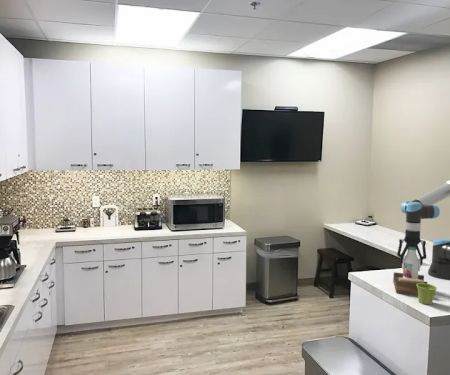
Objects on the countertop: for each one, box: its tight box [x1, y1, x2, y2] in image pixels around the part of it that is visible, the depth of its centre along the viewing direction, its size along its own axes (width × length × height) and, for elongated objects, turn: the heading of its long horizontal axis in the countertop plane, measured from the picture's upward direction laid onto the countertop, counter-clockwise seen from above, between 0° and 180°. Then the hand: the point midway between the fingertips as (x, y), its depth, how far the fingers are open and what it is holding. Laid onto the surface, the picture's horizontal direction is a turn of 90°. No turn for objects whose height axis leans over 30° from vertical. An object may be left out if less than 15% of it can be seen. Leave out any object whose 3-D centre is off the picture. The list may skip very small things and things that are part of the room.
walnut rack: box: [392, 271, 428, 297], centre depth 226 cm, size 20×16×7 cm
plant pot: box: [416, 283, 438, 306], centre depth 207 cm, size 9×9×9 cm
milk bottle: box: [402, 246, 419, 279], centre depth 229 cm, size 8×8×20 cm
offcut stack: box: [399, 278, 424, 283], centre depth 221 cm, size 4×13×8 cm, turn 73°
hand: (410, 269), depth 229 cm, fingers closed on milk bottle, 7 cm apart
